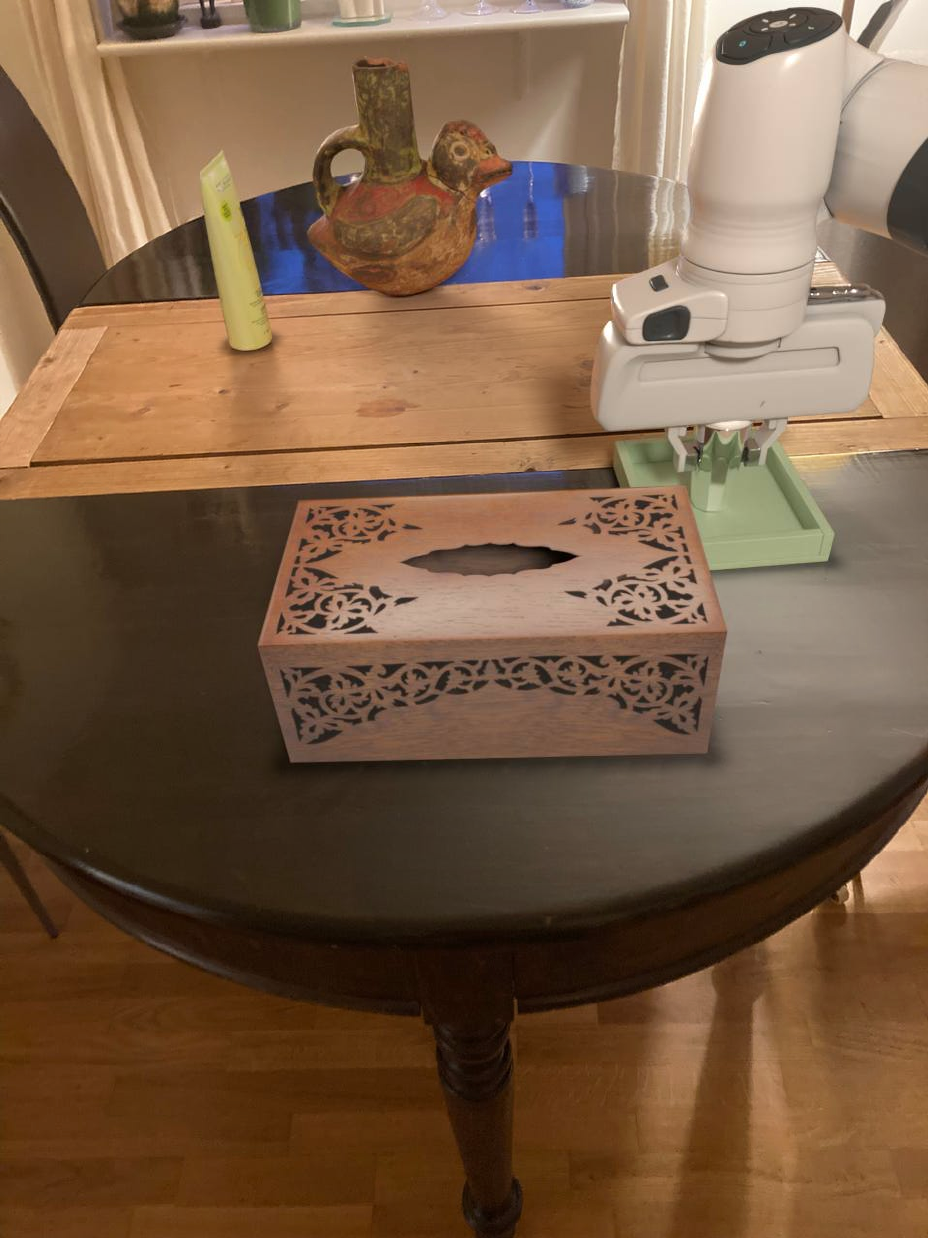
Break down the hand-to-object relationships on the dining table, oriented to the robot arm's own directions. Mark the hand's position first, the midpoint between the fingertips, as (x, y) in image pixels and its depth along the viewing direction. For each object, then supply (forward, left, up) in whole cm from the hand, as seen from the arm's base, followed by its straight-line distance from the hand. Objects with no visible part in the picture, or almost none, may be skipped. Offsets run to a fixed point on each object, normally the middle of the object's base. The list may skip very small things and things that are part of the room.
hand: (717, 465), depth 73 cm
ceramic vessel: (+24, -53, -4) cm, 58 cm away
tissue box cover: (+19, +17, -4) cm, 26 cm away
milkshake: (0, 0, -4) cm, 4 cm away
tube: (+43, -40, -4) cm, 59 cm away
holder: (0, 0, -4) cm, 4 cm away
